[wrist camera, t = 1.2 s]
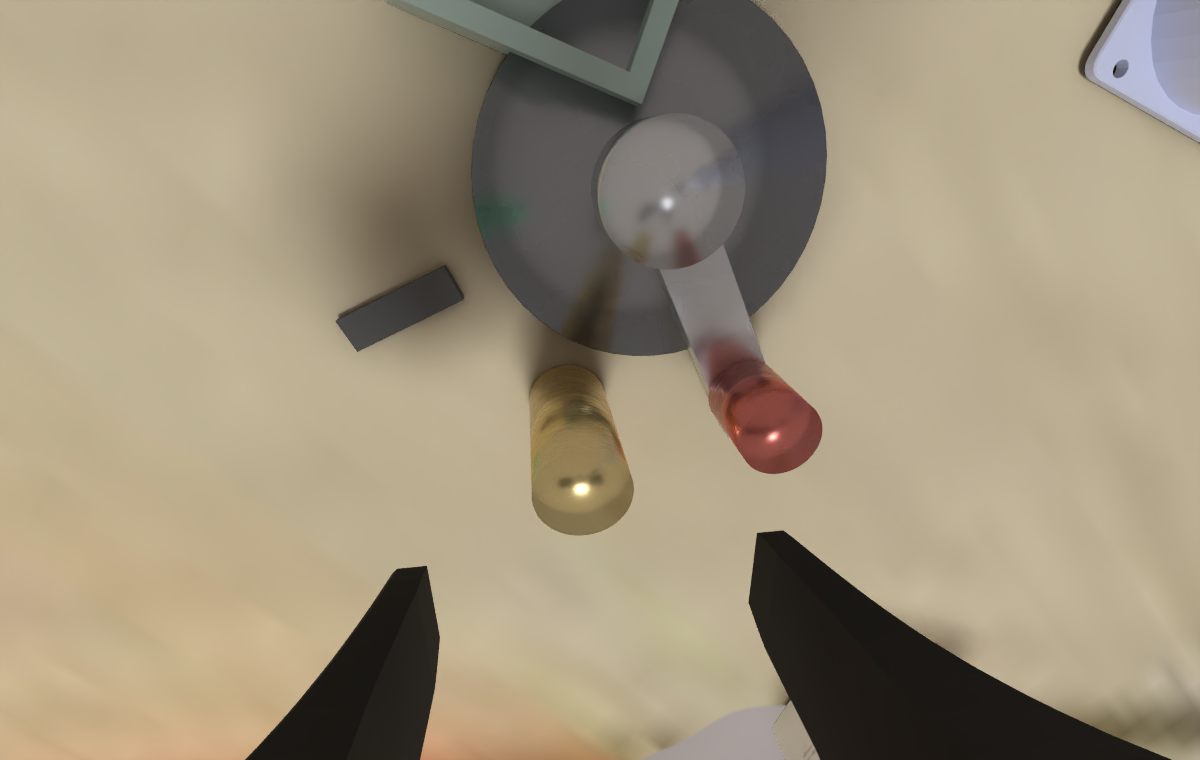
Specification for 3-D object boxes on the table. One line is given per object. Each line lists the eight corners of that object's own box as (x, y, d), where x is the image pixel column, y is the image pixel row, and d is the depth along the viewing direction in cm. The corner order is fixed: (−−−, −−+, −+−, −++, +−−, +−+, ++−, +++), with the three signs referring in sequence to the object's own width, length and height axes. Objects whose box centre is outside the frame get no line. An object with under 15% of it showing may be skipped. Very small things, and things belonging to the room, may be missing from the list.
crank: (568, 154, 16) (583, 160, 12) (694, 90, 16) (751, 75, 12) (693, 434, 20) (733, 504, 16) (793, 387, 20) (859, 448, 16)
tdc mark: (445, 265, 18) (443, 267, 18) (464, 297, 19) (463, 299, 18) (338, 318, 18) (335, 321, 18) (360, 348, 19) (357, 351, 19)
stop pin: (615, 376, 21) (648, 463, 15) (589, 440, 21) (612, 543, 16) (543, 355, 20) (550, 438, 14) (519, 421, 21) (518, 523, 15)
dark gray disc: (872, 74, 17) (892, 71, 17) (725, 381, 21) (734, 391, 20) (537, -95, 15) (538, -111, 14) (435, 291, 18) (430, 299, 18)
